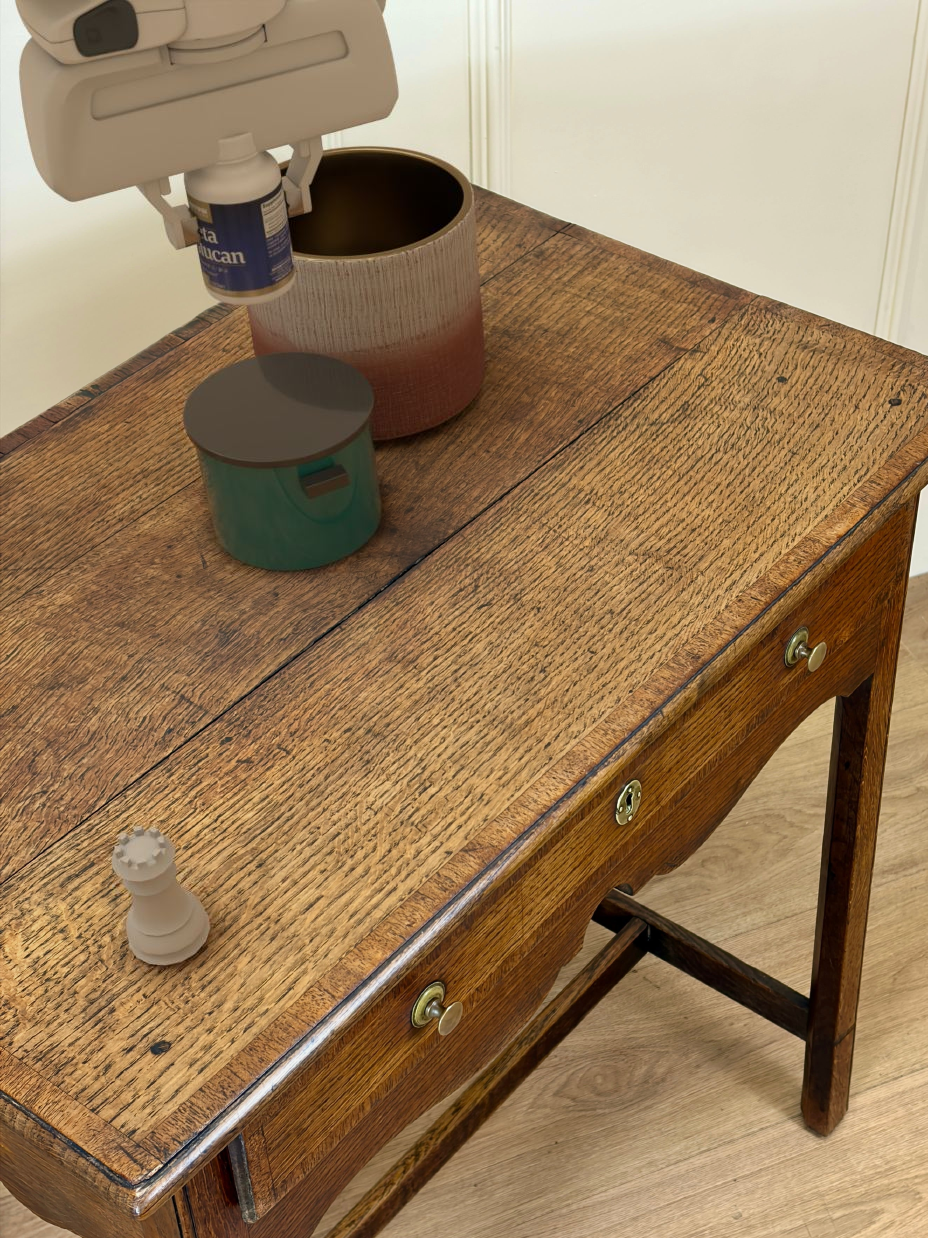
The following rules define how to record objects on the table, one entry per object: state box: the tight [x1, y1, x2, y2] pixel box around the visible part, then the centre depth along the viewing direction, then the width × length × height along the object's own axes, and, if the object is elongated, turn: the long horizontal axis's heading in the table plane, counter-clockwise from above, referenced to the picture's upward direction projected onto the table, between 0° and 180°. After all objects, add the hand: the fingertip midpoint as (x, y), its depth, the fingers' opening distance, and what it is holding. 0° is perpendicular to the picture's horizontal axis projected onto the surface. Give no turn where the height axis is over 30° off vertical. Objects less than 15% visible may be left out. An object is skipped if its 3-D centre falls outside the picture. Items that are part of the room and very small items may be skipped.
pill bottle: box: [183, 132, 295, 306], centre depth 84 cm, size 5×5×10 cm
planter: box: [246, 145, 486, 443], centre depth 112 cm, size 18×18×16 cm
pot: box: [182, 352, 383, 572], centre depth 103 cm, size 13×15×10 cm
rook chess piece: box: [110, 824, 211, 966], centre depth 78 cm, size 4×4×8 cm
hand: (240, 227), depth 85 cm, fingers closed on pill bottle, 5 cm apart
